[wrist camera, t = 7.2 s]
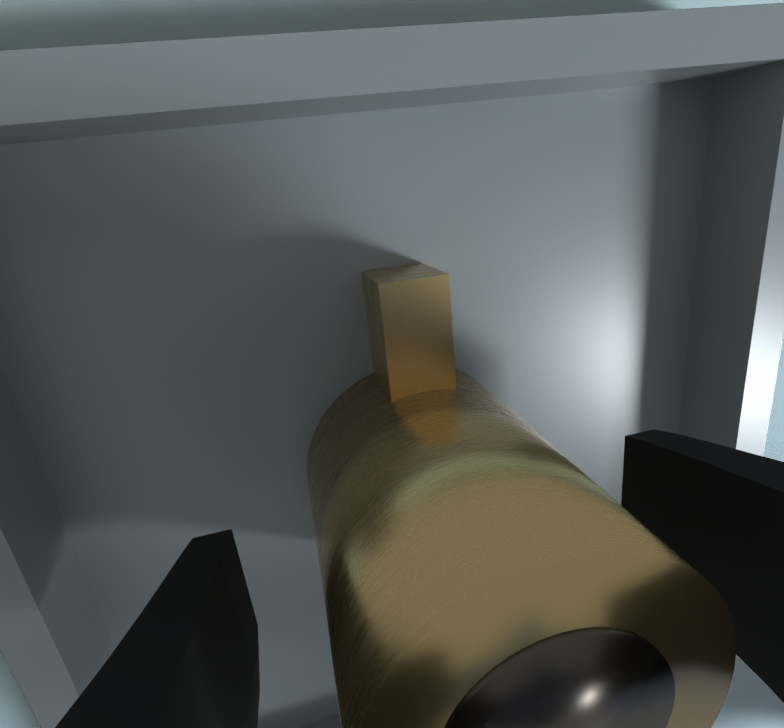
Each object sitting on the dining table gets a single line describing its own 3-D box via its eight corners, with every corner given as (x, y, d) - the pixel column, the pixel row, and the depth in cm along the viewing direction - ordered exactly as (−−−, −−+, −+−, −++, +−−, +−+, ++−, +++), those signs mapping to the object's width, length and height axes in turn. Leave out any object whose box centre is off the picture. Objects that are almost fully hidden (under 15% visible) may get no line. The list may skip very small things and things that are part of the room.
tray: (717, 41, 10) (839, -1, 8) (662, 606, 16) (727, 672, 13) (-137, 107, 8) (-305, 69, 5) (147, 766, 13) (122, 883, 11)
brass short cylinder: (509, 521, 12) (717, 801, 6) (324, 567, 11) (378, 936, 6) (502, 250, 10) (810, 318, 4) (270, 284, 9) (270, 421, 3)
